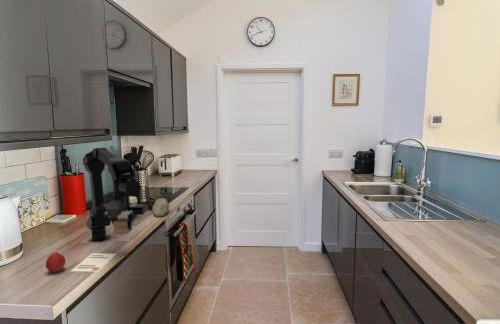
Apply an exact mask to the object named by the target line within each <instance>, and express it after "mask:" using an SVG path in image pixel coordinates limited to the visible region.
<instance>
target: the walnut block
mask: <svg viewBox="0 0 500 324" xmlns="http://www.w3.org/2000/svg"><path fill="white" fill-rule="evenodd" d="M128 222H129V218H124V217H118V219H117V220H116V221H114V222H113V224H114V226H113V234H114V235H128V234H129V233H130V232H131V231H132V230H133V227H132V228H131V230H129V227H128ZM113 224H112V225H113Z"/></svg>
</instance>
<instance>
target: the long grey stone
mask: <svg viewBox="0 0 500 324" xmlns="http://www.w3.org/2000/svg"><path fill="white" fill-rule="evenodd" d="M169 207H170V205H169V202H168V200H167V198H165V197H164V198H163V197H161V198H158V199H156V200H155V201H154V204H153V206H152V214H153V215H154V216H155V217H165V216H166V215H167V214H168V211H169Z"/></svg>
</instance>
